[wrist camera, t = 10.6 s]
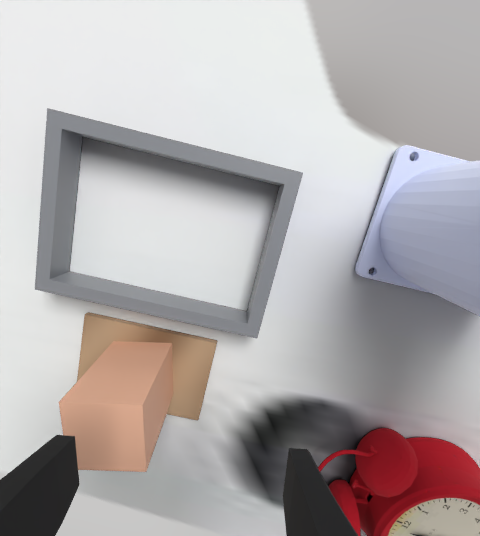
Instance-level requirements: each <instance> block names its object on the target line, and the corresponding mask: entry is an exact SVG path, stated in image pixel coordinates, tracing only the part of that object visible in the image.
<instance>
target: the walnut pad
mask: <svg viewBox="0 0 480 536" xmlns="http://www.w3.org/2000/svg"><path fill="white" fill-rule="evenodd" d="M113 341H123V342H154V343H172V359H173V396H172V399H171V402H170V405H169V408H168V411H167V414H169V415H174V416H179V417H184V418H189V419H194V420H198V419H199V415H200V411H201V407H202V402H203V398H204V394H205V390H206V386H207V382H208V378H209V373H210V369H211V365H212V361H213V357H214V353H215V348H216V344H217V340H212V339H208V338H203V337H199V336H194V335H189V334H185V333H180V332H176V331H171V330H167V329H162V328H157V327H153V326H148V325H144V324H139V323H135V322H130V321H125V320H121V319H116V318H112V317H107V316H103V315H98V314H93V313H89V312H88V313H86V314H85V317H84V326H83V334H82V343H81V352H80V360H79V369H78V377H77V381H78V380H79V379H80V378H81V377H82V376H83V375H84V374H85V372H86V371H87V370H88V369H89V368H90V367H91V366H92V365H93V363H94V362H95V361H96V360H97V359H98V358H99V357H100V356H101V355H102V353H103V352H104V351H105V350H106V349H107V348H108V347H109V346H110V344H111V343H112V342H113Z"/></svg>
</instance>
